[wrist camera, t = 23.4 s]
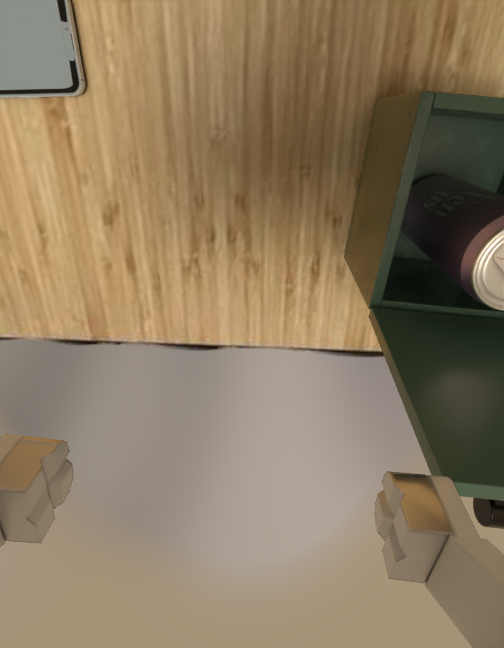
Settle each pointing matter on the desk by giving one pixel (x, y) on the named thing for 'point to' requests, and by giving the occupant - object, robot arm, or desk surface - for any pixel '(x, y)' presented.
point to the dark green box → (394, 188)
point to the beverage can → (460, 234)
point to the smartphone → (39, 50)
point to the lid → (452, 397)
